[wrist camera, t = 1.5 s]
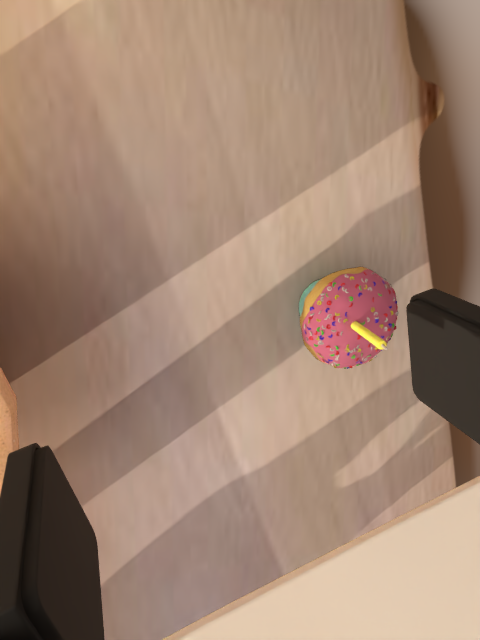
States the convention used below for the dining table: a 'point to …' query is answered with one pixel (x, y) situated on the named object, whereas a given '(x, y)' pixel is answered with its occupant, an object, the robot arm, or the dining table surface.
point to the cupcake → (348, 317)
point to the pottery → (7, 424)
